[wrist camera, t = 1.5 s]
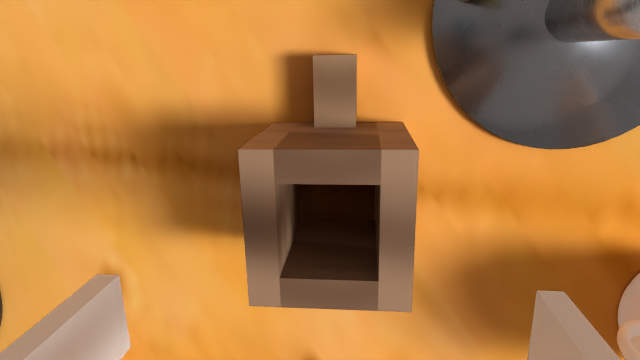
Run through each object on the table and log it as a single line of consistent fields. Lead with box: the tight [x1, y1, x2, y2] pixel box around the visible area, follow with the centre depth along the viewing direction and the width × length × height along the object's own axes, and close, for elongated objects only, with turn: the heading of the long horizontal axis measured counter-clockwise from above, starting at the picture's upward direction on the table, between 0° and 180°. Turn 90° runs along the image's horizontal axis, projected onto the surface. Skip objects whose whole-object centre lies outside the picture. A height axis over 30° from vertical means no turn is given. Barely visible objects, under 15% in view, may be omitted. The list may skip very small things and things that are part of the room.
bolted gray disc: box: [432, 0, 640, 149], centre depth 19 cm, size 15×15×9 cm
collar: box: [238, 55, 419, 312], centre depth 23 cm, size 12×8×8 cm, turn 1°
